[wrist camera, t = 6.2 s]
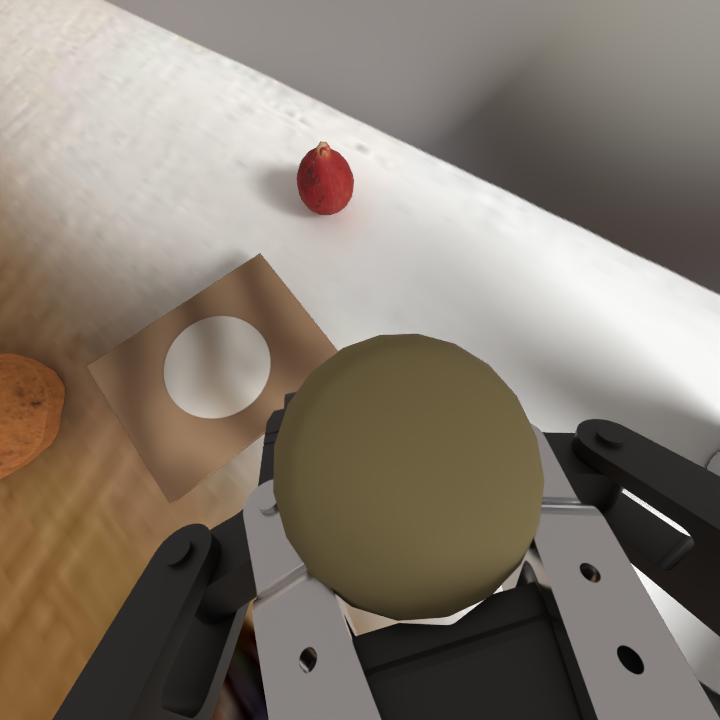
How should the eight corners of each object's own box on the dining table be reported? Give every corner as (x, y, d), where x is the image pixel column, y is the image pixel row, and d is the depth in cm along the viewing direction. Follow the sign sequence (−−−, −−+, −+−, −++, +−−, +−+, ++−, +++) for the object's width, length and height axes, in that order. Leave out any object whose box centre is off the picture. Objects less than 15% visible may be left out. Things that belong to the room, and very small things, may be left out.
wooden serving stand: (272, 275, 32) (258, 250, 27) (350, 373, 29) (349, 364, 25) (124, 374, 29) (82, 365, 25) (197, 491, 27) (166, 504, 22)
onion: (324, 240, 33) (314, 182, 25) (293, 206, 34) (275, 140, 26) (363, 212, 34) (366, 148, 26) (332, 180, 35) (326, 109, 27)
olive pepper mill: (289, 442, 15) (129, 484, 4) (367, 359, 16) (399, 223, 5) (376, 529, 14) (454, 855, 3) (452, 435, 15) (691, 455, 4)
